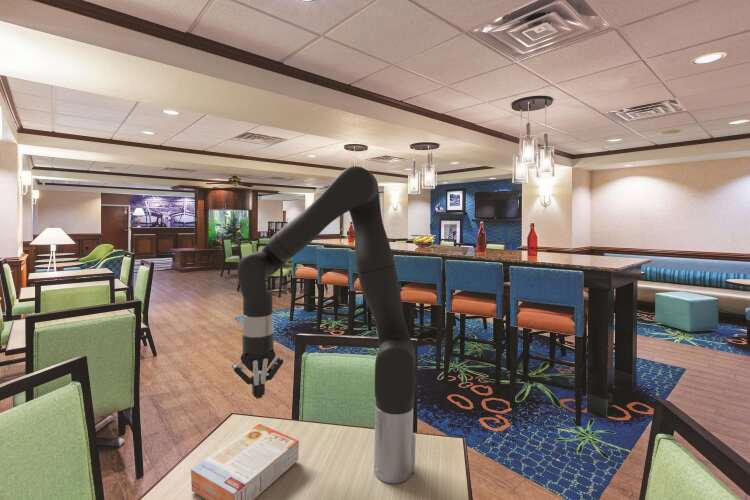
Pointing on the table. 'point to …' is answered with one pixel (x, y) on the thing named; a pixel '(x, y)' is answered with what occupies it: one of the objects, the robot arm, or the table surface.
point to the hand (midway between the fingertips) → (258, 397)
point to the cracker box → (245, 465)
